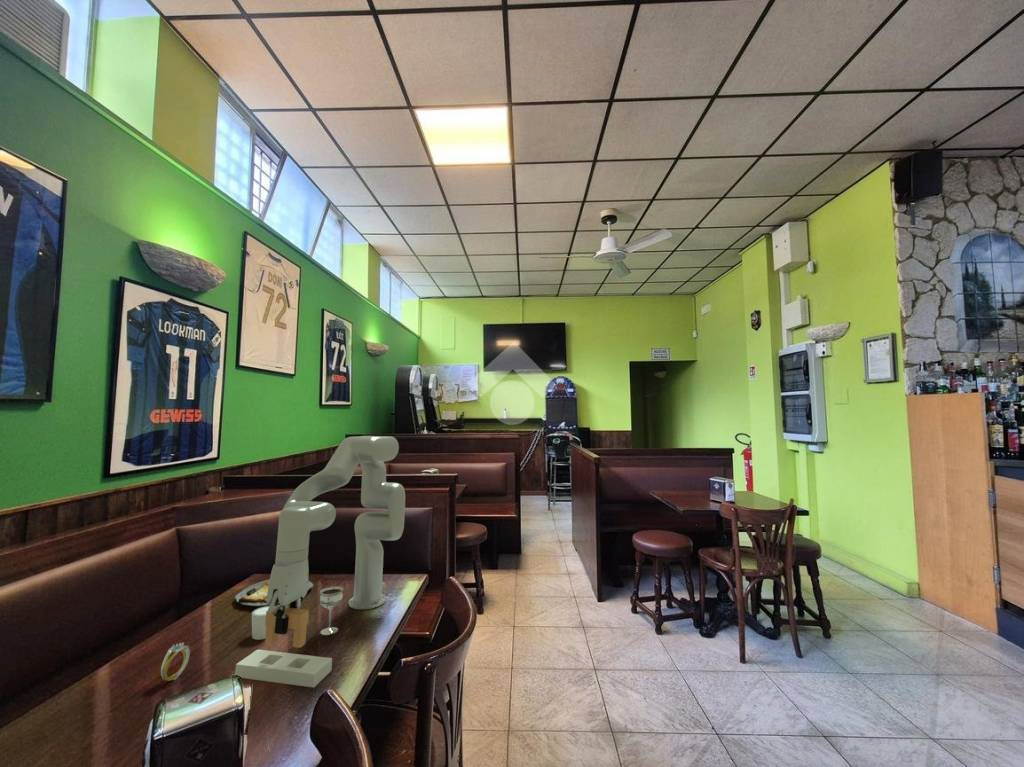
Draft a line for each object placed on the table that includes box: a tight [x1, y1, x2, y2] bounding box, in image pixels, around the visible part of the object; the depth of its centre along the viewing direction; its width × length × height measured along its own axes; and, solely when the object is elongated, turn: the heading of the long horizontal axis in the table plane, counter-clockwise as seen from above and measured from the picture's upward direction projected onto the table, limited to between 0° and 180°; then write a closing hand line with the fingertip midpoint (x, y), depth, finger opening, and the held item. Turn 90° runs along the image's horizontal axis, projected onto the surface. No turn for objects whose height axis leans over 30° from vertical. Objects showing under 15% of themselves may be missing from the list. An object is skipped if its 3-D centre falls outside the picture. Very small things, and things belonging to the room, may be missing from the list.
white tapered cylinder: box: [251, 606, 269, 640], centre depth 122 cm, size 7×7×7 cm
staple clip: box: [264, 607, 310, 649], centre depth 104 cm, size 3×10×8 cm, turn 80°
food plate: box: [234, 579, 314, 608], centre depth 150 cm, size 25×23×4 cm
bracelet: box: [160, 642, 191, 682], centre depth 101 cm, size 7×3×8 cm, turn 172°
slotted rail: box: [234, 649, 333, 688], centre depth 103 cm, size 7×22×3 cm, turn 80°
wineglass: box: [318, 585, 344, 636], centre depth 125 cm, size 7×7×12 cm
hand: (286, 629), depth 104 cm, fingers closed on staple clip, 3 cm apart
